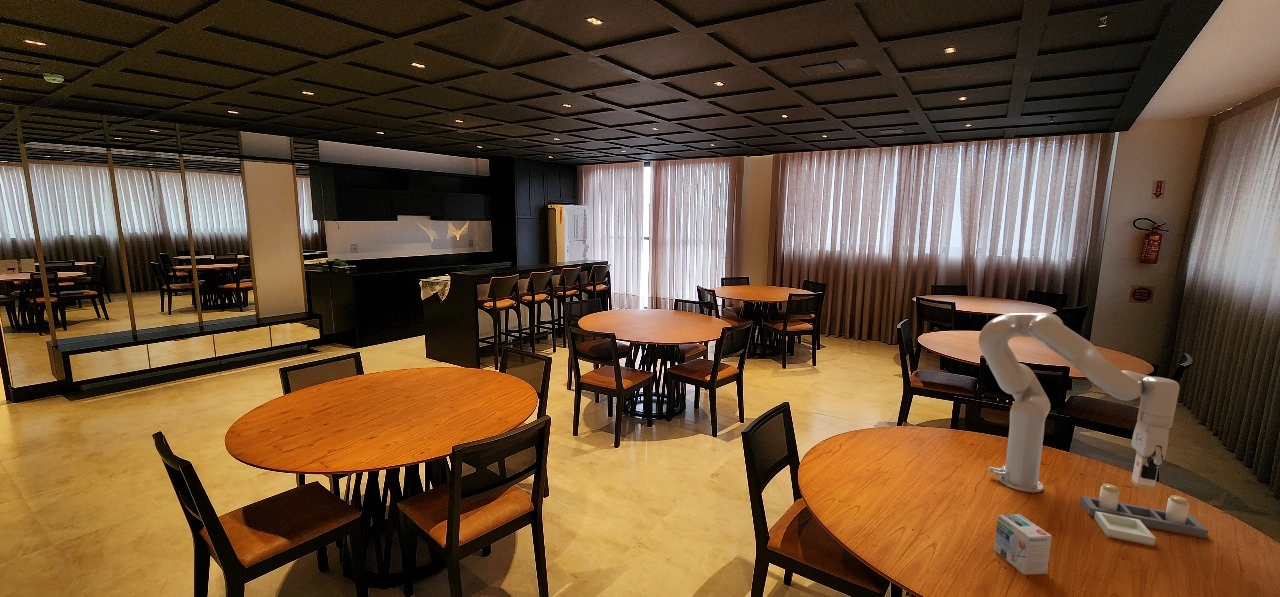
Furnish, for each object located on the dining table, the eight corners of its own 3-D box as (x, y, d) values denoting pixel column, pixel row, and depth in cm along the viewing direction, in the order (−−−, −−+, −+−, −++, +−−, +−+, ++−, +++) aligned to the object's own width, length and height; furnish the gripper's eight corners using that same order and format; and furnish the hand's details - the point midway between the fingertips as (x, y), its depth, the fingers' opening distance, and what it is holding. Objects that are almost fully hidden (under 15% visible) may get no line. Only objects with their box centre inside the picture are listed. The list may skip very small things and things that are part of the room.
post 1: (1100, 515, 162) (1104, 488, 161) (1095, 508, 166) (1098, 481, 165) (1118, 518, 161) (1122, 491, 159) (1112, 511, 164) (1116, 484, 163)
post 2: (1168, 528, 156) (1172, 500, 154) (1161, 520, 160) (1165, 493, 158) (1188, 531, 154) (1192, 503, 153) (1180, 524, 158) (1185, 496, 156)
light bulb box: (992, 550, 144) (996, 513, 143) (1015, 549, 145) (1019, 513, 143) (1024, 575, 134) (1028, 536, 132) (1048, 574, 134) (1053, 535, 133)
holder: (1089, 515, 162) (1090, 508, 162) (1080, 502, 170) (1081, 495, 169) (1206, 538, 151) (1208, 530, 150) (1191, 523, 158) (1193, 516, 158)
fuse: (1136, 486, 158) (1142, 455, 156) (1130, 480, 162) (1136, 450, 160) (1154, 489, 156) (1160, 458, 155) (1148, 483, 160) (1154, 453, 158)
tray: (1107, 536, 151) (1108, 528, 151) (1094, 518, 160) (1095, 511, 160) (1154, 546, 147) (1155, 538, 146) (1138, 527, 156) (1139, 519, 156)
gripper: (1127, 407, 165) (1117, 461, 168) (1151, 425, 150) (1140, 484, 153) (1158, 411, 162) (1148, 466, 164) (1186, 430, 147) (1174, 491, 149)
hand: (1144, 474), depth 158 cm, fingers closed on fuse, 4 cm apart
